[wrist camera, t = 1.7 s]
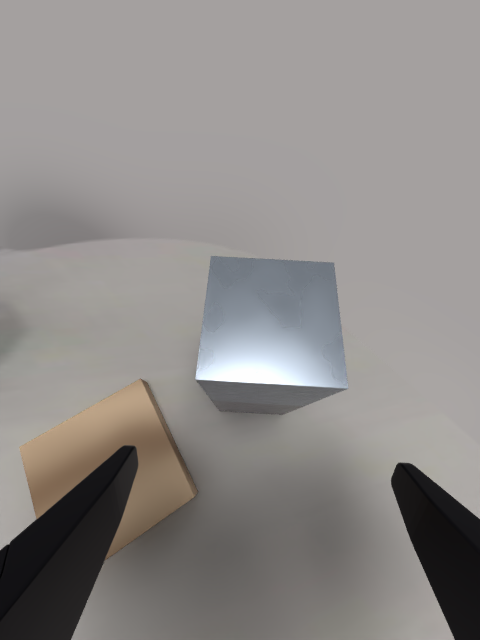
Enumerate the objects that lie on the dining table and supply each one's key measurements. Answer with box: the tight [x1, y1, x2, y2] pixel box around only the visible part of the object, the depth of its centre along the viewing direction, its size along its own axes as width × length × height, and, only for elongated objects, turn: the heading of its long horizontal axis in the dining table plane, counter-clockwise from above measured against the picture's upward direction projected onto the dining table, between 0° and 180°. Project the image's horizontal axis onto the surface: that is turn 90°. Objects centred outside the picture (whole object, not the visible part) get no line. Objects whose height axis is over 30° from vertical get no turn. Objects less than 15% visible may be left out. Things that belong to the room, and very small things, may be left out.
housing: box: [195, 256, 348, 415], centre depth 15 cm, size 5×5×13 cm
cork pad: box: [19, 379, 198, 561], centre depth 18 cm, size 9×9×2 cm
